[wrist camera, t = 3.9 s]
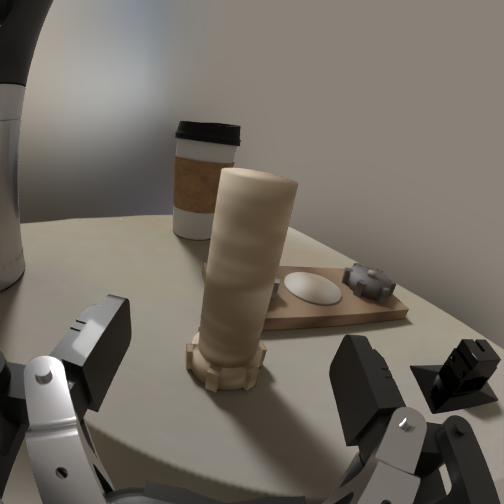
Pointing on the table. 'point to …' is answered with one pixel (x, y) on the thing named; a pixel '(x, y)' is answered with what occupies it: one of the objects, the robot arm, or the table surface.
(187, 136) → the coffee cup
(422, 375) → the black block stand
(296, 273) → the gear board
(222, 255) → the spindle gear
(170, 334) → the table surface
